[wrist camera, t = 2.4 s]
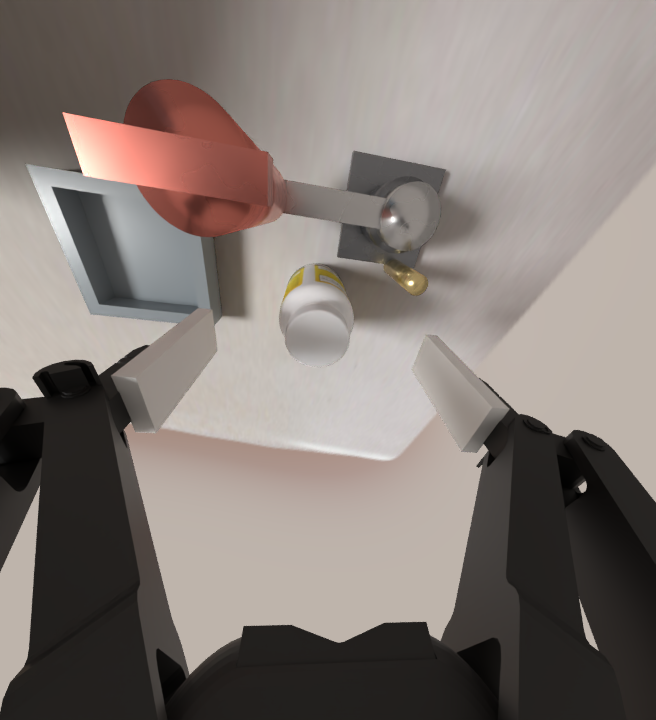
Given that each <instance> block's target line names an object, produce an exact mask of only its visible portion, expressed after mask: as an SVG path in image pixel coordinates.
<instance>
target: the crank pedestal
mask: <svg viewBox="0 0 656 720" xmlns="http://www.w3.org/2000/svg"><path fill="white" fill-rule="evenodd" d="M444 173H445V169H440V168H435V167H431V166H426V165H421V164H416V163H411V162H406V161H401V160H396V159H391V158H386V157H381V156H376V155H371V154H366V153H362V152H357V151H353V153H352V160H351V166H350V173H349V180H348V186H347V191H349V192H354V193H360V194H366V195H371V196H377V197H382V198H384V197H385V196H386V194H387V193H388V192H389V191H391V190H392V189H394V188H395V187H397V186H400V185H403V184H406V183H410V182H416V181H419V182H424V183H427V184H429V185H430V186H431V187H433V188H434V190H435V191H436V192H437V194H438V192H439V189H440V186H441V183H442V179H443V176H444ZM420 248H421V247H419V248H417V249H414V250H411V251H401V250H397V249H395V248H393V247H391V246H388V245H387V244H385V243H384V242H383V241H382V240H381V238H380V237H379V235H378V232H377V229H376V228H371V227H365V226H359V225H353V224H347V223H342V226H341V233H340V240H339V246H338V253H337V257H340V258H347V259H354V260H360V261H367V262H374V263H381V264H384V271H385V272H386V273H387V274H388V275H389V276H390V277H391V278H393V279H394V280H395V281H396V282H397V283H398V284H399V285H401V286H402V287H403V288H404V289H405V290H406V291H408V292H409V293H410V294H411V295H414V296H417V295H420V294H422V293H423V292H424V291H425V290H426V289H427V287H428V280H427V278H426V277H425V276H424V275H422V274H420V273H419V272H417V271H415V270H413V269H412V268H414V266H415V263H416V260H417V257H418V254H419V251H420Z"/></svg>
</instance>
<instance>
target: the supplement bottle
mask: <svg viewBox="0 0 656 720" xmlns="http://www.w3.org/2000/svg"><path fill="white" fill-rule="evenodd" d="M279 323H280V328H281V331H282V333H283V335H284V337H285V344H286V347H287V349H288V351H289V353H290V355H291V356H292V357H293V358H294V359H295V360H296V361H298V362H299V363H301V364H303V365H306V366H310V367H324V366H328V365H331V364H333V363H335V362H337V361H338V360H339V359H340V358H342V356H343V355H344V354H345V352H346V351H347V349H348V346H349V341H350V334H351V332H352V329H353V324H354V314H353V309H352V306H351V303H350V301H349V298H348V296H347V293H346V291H345V288H344V286H343V284H342V281H341V279H340V277H339V276H338V275H337V274H336V273H335V272H334V271H333V270H332V269H331V268H329V267H327V266H325V265H321V264H309V265H305V266H303V267H301V268H299V269H298V270H297V271H296V272H295V273H294V274H293V275H292V277H291V278H290V280H289V283H288V285H287V289H286V292H285V295H284V298H283V301H282V304H281V308H280V314H279Z"/></svg>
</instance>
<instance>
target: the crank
mask: <svg viewBox="0 0 656 720" xmlns="http://www.w3.org/2000/svg"><path fill="white" fill-rule="evenodd" d="M63 115H64V118H65V121H66V124H67V127H68V130H69V133H70V136H71V139H72V142H73V145H74V148H75V151H76V154H77V157H78V160H79V163H80V166H81V169H82V172H83V175H84V176H88V177H94V178H100V179H106V180H112V181H118V182H124V183H130V184H136V185H137V187H138V189H139V190H140V192H141V193H142V195H143V197H144V198H145V199H146V201H147V202H148V203H149V205H150V206H151V207H152V208H153V209H154V210H155V211H156V212H157V213H158V214H159V215H160V216H161V217H162V218H163V219H164V220H166V221H167V222H168V223H170V224H171V225H173V226H174V227H176V228H178V229H179V230H181V231H184V232H186V233H188V234H191V235H195V236H199V237H216V236H221V235H225V234H228V233H232V232H236V231H240V230H244V229H247V228H251V227H255V226H259V225H263V224H266V223H270V222H273V221H275V220H277V219H278V218H279V217H280V216H281V215H282V213H286V214H292V215H298V216H304V217H311V218H317V219H323V220H329V221H335V222H341V223H347V224H353V225H359V226H365V227H371V228H376V229H377V232H378V235H379V237H380V238H381V240H382V241H383V242H384V243H385V244H387V245H388V246H391V247H393V248H395V249H397V250H401V251H411V250H414V249H417V248H419V247H421V246H422V245H424V244H425V243H426V242H427V241H428V240H429V239H430V238H431V237H432V235H433V234H434V232H435V230H436V229H437V226H438V224H439V220H440V216H441V203H440V199H439V196H438V194H437V192H436V191H435V190H434V188H433V187H431V186H430V185H429V184H427V183H424V182H419V181H416V182H410V183H406V184H403V185H400V186H397V187H395V188H394V189H392V190H391V191H389V192H388V193H387V194H386V196H385V197H384V198H382V197H377V196H371V195H366V194H360V193H354V192H349V191H343V190H338V189H332V188H327V187H321V186H316V185H310V184H305V183H299V182H294V181H288V180H284V179H283V177H282V175H281V174H280V172H279V171H278V170H277V168H276V167H275V166H274V165H273V158H272V157H271V156H270V154H269V153H268V152H265V151H261V150H260V149H259V148H258V147H257V146H256V145H255V144H254V142H253V141H252V140H251V139H250V138H249V137H248V136H247V135H246V133H245V132H244V131H243V130H242V129H241V128H240V127H239V126H238V124H237V123H236V122H235V121H234V120H233V119H232V118H231V117H230V115H229V114H228V113H227V112H226V111H225V110H224V109H223V108H222V107H221V106H220V105H219V104H218V102H217V101H215V100H214V99H213V98H212V97H211V96H209V95H208V94H207V93H205V92H204V91H202V90H201V89H199V88H197V87H195V86H193V85H191V84H189V83H186V82H182V81H179V80H171V79H166V80H158V81H154V82H151V83H149V84H147V85H145V86H144V87H142V88H141V89H140V90H139V91H138V92H137V93H136V94H135V95H134V97H133V98H132V100H131V101H130V103H129V105H128V107H127V110H126V114H125V117H124V123H123V124H120V123H115V122H110V121H105V120H99V119H94V118H89V117H84V116H79V115H74V114H68V113H63Z"/></svg>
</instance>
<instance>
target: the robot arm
mask: <svg viewBox="0 0 656 720" xmlns="http://www.w3.org/2000/svg"><path fill="white" fill-rule="evenodd" d="M216 352H217V343H216V335H215V327H214V320H213V312H212V310H211V309H202V308H198V309H196V310H195V311H194V312H193V313H191V314H190V315H189V316H187V317H186V318H185V319H184V320H182V321H181V322H180V323H178V324H177V325H176V326H175V327H173V328H172V329H171V330H169V331H168V332H167V333H166V334H164V335H163V336H162V337H160V338H159V339H158V340H156V341H155V342H154V343H153V344H151V345H145V346H142V347H140V348H137V349H135V350H133V351H131V352H130V353H129V354H127V355H126V356H125V358H122V359H120V360H119V361H118V362H117V363H115V364H114V365H112V366H111V367H110V368H108V369H107V370H105V371H104V372H103V373H101V374H100V375H99V376H98V374H97V372H96V370H95V368H94V366H93V364H92V363H91V362H89V361H86V360H70V361H63V362H59V363H55V364H52V365H49V366H47V367H44V368H42V369H41V370H39V371H38V372H36V373H35V374H34V376H33V377H32V378H33V380H34V381H35V383H36V384H37V386H38V387H39V389H40V390H41V392H42V393H43V395H44V396H45V397H38V398H29V399H21V398H20V396H19V395H18V394H17V392H16V391H15V390H14V389H10V388H0V571H1V569H2V567H3V565H4V562H5V560H6V558H7V556H8V554H9V551H10V549H11V547H12V545H13V543H14V541H15V538H16V536H17V534H18V532H19V530H20V527H21V525H22V523H23V521H24V519H25V516H26V514H27V512H28V510H29V507H30V505H31V503H32V501H33V499H34V497H35V495H36V492H37V490H38V488H39V486H40V495H39V511H38V526H37V539H36V540H37V541H36V554H35V569H34V585H33V598H32V614H31V629H30V643H29V652H28V658H27V660H26V663H25V665H24V667H23V668H22V670H21V671H20V672H19V673H18V674H17V675H16V676H15V678H14V679H13V680H12V681H11V682H10V684H9V686H8V689H7V691H6V693H5V696H4V698H3V702H2V707H1V711H0V720H656V502H655V501H654V500H653V499H652V497H651V496H650V495H649V494H648V492H647V491H646V490H645V489H644V487H643V486H642V485H641V483H640V482H639V481H638V480H637V478H636V477H635V476H634V475H633V473H632V472H631V471H630V470H629V468H628V467H627V466H626V465H625V463H624V462H623V461H622V460H621V458H620V457H619V456H618V455H617V453H616V452H615V451H614V450H613V449H612V448H611V447H610V446H609V445H608V444H607V443H605V442H604V441H603V440H602V439H600V438H599V437H598V438H597V436H595V435H593V434H589V433H587V432H584V431H580V430H573V431H572V432H571V433H570V434H569V435H568V436H567V437H562V436H559V435H556V434H553V433H552V431H551V430H550V429H549V428H548V427H547V426H546V425H545V424H543V423H542V422H541V421H539V420H537V419H535V418H533V417H530V416H528V415H523V414H520V415H519V414H518V413H517V412H516V411H514V409H513V408H511V406H510V405H509V404H508V403H506V402H505V401H504V400H503V399H502V398H501V397H499V395H498V394H497V393H496V392H495V391H494V390H493V389H492V388H491V387H490V386H489V385H488V384H487V383H486V382H484V381H483V380H481V379H480V378H478V377H477V376H476V375H475V374H474V373H473V372H472V371H471V370H470V369H469V368H468V367H467V366H466V365H465V364H464V363H463V362H462V361H461V360H460V359H459V358H458V357H457V356H456V355H455V354H454V353H453V352H452V351H451V350H450V349H449V347H448V346H447V345H446V344H445V343H444V342H443V341H442V340H441V339H440V338H439V337H438V336H434V335H425V338H424V340H423V343H422V345H421V348H420V350H419V353H418V355H417V358H416V360H415V363H414V365H413V368H412V371H413V373H414V375H415V376H416V378H417V380H418V381H419V383H420V384H421V386H422V388H423V389H424V391H425V393H426V394H427V396H428V398H429V399H430V401H431V403H432V404H433V406H434V407H435V409H436V411H437V412H438V414H439V416H440V417H441V419H442V421H443V422H444V424H445V425H446V427H447V429H448V430H449V432H450V433H451V435H452V437H453V439H454V440H455V442H456V444H457V445H458V447H459V448H460V450H461V452H475V453H477V452H478V450H479V449H480V448H481V446H482V445H483V444H484V445H485V446H486V447H487V449H488V450H489V451H488V452H487V453H486V454H485V456H484V457H483V458H482V459H481V461H480V462H479V463H478V465H477V467H478V468H479V467H480V466H481V465H483V466H482V471H481V476H480V481H479V486H478V491H477V496H476V501H475V507H474V512H473V517H472V522H471V527H470V532H469V537H468V542H467V547H466V553H465V557H464V563H463V568H462V573H461V578H460V583H459V588H458V593H457V598H456V603H455V608H454V612H453V615H452V617H451V619H450V621H449V623H448V625H447V626H446V628H445V631H444V633H443V636H442V639H441V641H439V640H437V639H436V638H434V637H432V636H430V634H429V631H428V627H427V623H426V622H400V623H383V624H381V625H379V626H377V627H374V628H372V629H370V630H368V631H366V632H364V633H362V634H360V635H358V636H355V637H353V638H351V639H349V640H347V641H345V642H341V643H337V642H334V641H331V640H329V639H326V638H323V637H321V636H318V635H316V634H313V633H311V632H308V631H305V630H303V629H300V628H298V627H295V626H292V625H272V626H244V627H243V633H242V637H241V638H239V639H236V640H234V641H232V642H230V643H229V644H227V645H225V646H223V647H222V648H220V649H219V650H217V651H216V652H215V653H213V654H212V655H211V656H210V657H208V658H207V659H206V660H205V661H204V662H203V663H202V664H200V665H199V667H198V668H196V669H195V670H194V671H193V672H192V673H191V674H190V675H189V671H188V667H187V664H186V660H185V656H184V652H183V649H182V645H181V642H180V639H179V636H178V633H177V631H176V628H175V626H174V623H173V620H172V617H171V613H170V609H169V605H168V601H167V598H166V593H165V589H164V585H163V581H162V577H161V573H160V569H159V565H158V561H157V557H156V553H155V549H154V545H153V541H152V537H151V533H150V529H149V525H148V521H147V517H146V512H145V508H144V504H143V500H142V497H141V493H140V488H139V484H138V480H137V476H136V472H135V469H134V465H133V460H132V456H131V453H130V449H129V444H128V440H127V436H126V433H125V431H124V429H125V427H126V426H127V425H128V424H129V423H130V422H131V423H132V425H133V427H134V430H135V432H146V433H157V431H158V430H159V429H160V427H161V426H162V425H163V423H164V422H165V421H166V419H167V418H168V417H169V415H170V414H171V413H172V411H173V410H174V409H175V407H176V406H177V405H178V403H179V402H180V400H181V399H182V398H183V396H184V395H185V394H186V392H187V391H188V390H189V388H190V387H191V386H192V384H193V383H194V382H195V380H196V379H197V378H198V376H199V375H200V374H201V372H202V371H203V369H204V368H205V367H206V365H207V364H208V363H209V361H210V360H211V359H212V357H213V356H214V355H215V353H216ZM585 481H586V483H587V489H586V491H585V492H584V493H581V492H580V490H579V488H578V486H580V485H581V484H582V483H583V482H585ZM579 599H580V601H581V604H582V607H583V609H584V612H585V615H586V617H587V620H588V622H589V625H590V628H591V631H592V633H593V636H594V639H595V642H596V644H597V647H598V649H599V651H598V650H596V649H595V648H594V647H592V646H591V645H590V644H589V642H588V641H587V639H586V637H585V633H584V628H583V622H582V615H581V609H580V603H579Z"/></svg>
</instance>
